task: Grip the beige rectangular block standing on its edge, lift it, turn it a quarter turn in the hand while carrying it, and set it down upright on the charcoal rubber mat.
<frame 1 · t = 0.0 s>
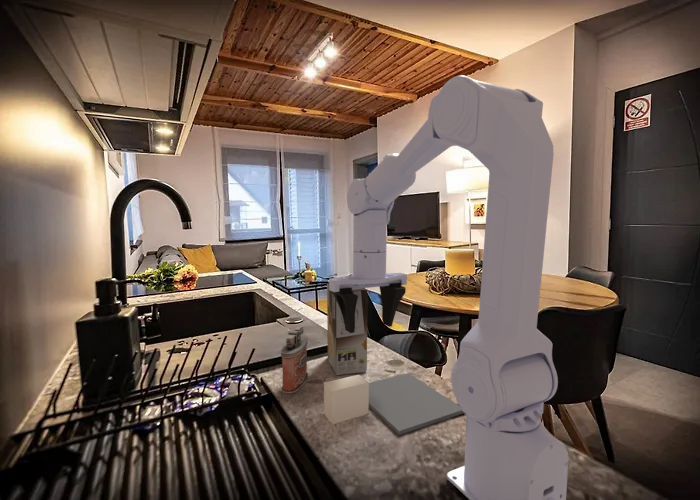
hand: (369, 328, 62), 10 cm above the countertop, tool pointing down, fingers open, 7 cm apart
mat: (404, 401, 57), on the countertop
lighter: (295, 386, 62), on the countertop
beige rectangular block: (346, 414, 54), on the countertop
coffee box: (346, 365, 71), on the countertop
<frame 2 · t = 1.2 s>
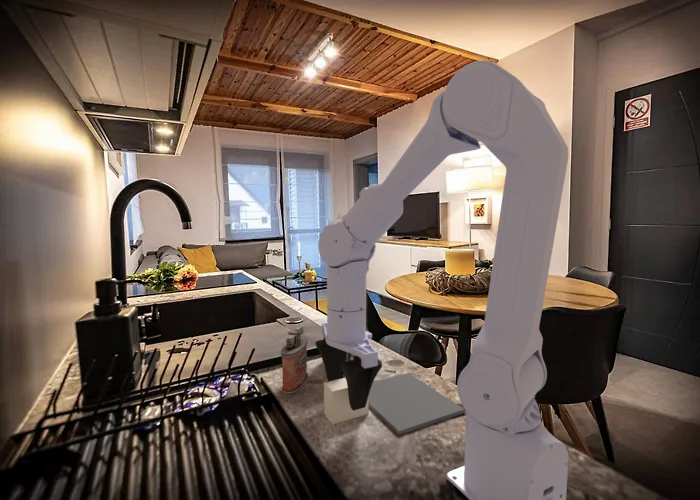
hand: (346, 395, 53), 3 cm above the countertop, tool pointing down, fingers open, 7 cm apart
nothing on the countertop moved.
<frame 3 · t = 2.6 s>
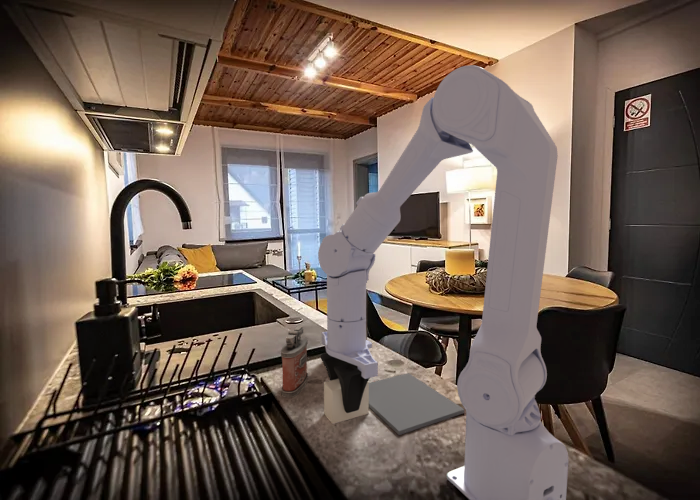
hand: (346, 404, 53), 1 cm above the countertop, tool pointing down, fingers closed on beige rectangular block, 3 cm apart
beige rectangular block: (346, 413, 54), on the countertop, touching gripper
everything else where it was.
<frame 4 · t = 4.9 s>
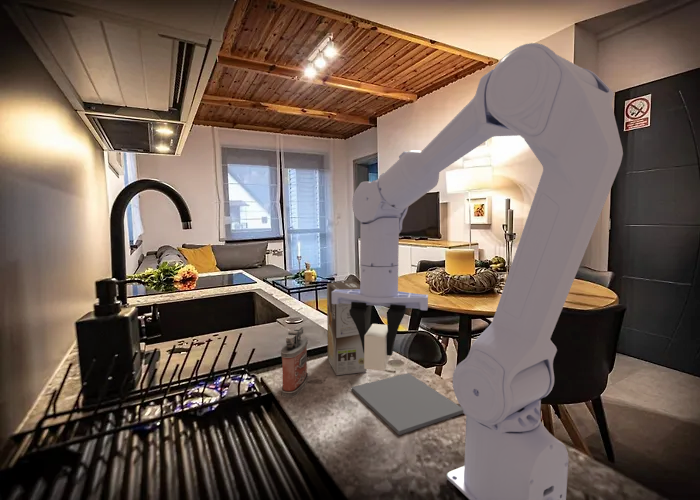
hand: (378, 351, 55), 9 cm above the countertop, tool pointing down, fingers closed on beige rectangular block, 3 cm apart
beige rectangular block: (378, 361, 55), point 7 cm above the countertop, touching gripper
everything else where it was.
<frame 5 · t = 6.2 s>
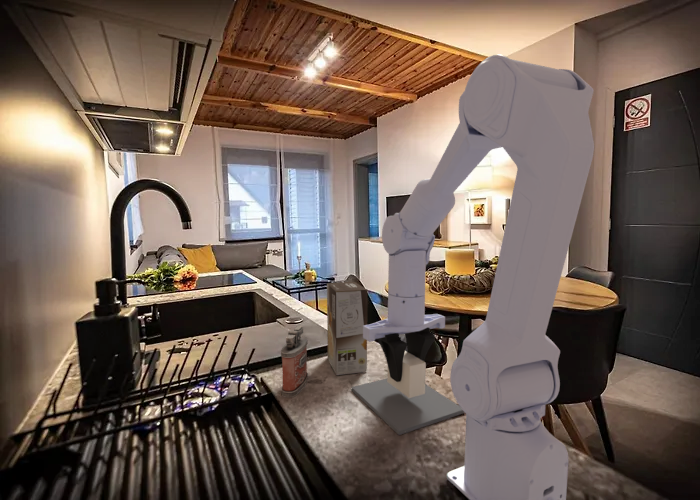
hand: (404, 376, 57), 4 cm above the countertop, tool pointing down, fingers closed on beige rectangular block, 3 cm apart
beige rectangular block: (405, 387, 57), point 2 cm above the countertop, touching gripper
everything else where it was.
when the fingers open (3 cm above the countertop, at t = 7.1 s): beige rectangular block stays where it is, resting on mat.
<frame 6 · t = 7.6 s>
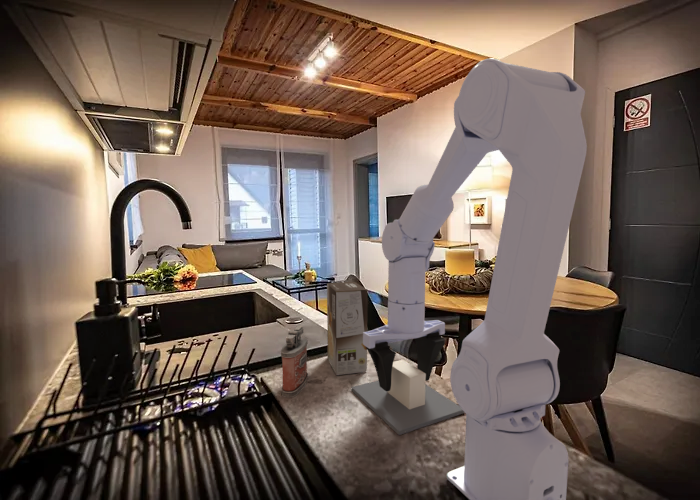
hand: (404, 383, 57), 3 cm above the countertop, tool pointing down, fingers open, 7 cm apart
beige rectangular block: (405, 398, 57), point 1 cm above the countertop, touching mat
everything else where it was.
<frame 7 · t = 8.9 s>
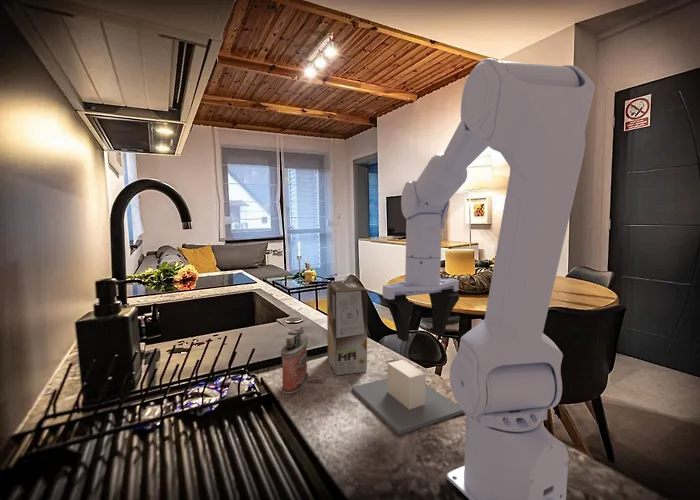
hand: (421, 336, 60), 9 cm above the countertop, tool pointing down, fingers open, 7 cm apart
nothing on the countertop moved.
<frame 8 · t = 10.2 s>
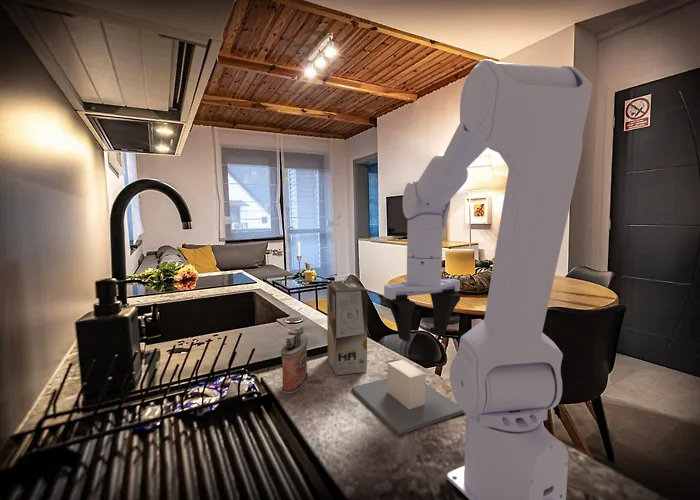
hand: (422, 336, 60), 9 cm above the countertop, tool pointing down, fingers open, 7 cm apart
nothing on the countertop moved.
at the end: beige rectangular block inside the target area on the mat (0.2 cm from its centre), point 0.6 cm above the mat's base; beige rectangular block tilted 0°; the gripper is holding nothing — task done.
